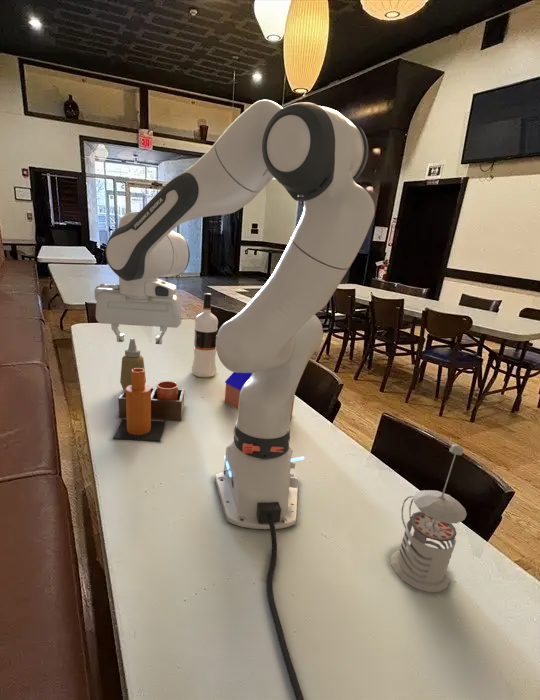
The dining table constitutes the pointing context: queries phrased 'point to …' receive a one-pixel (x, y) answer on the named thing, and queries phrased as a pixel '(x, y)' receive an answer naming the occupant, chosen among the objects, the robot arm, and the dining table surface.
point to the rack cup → (167, 390)
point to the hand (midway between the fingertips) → (139, 342)
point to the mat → (150, 436)
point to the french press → (435, 523)
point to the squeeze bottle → (130, 363)
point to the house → (237, 388)
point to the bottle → (138, 404)
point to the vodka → (205, 341)
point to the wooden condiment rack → (158, 406)
